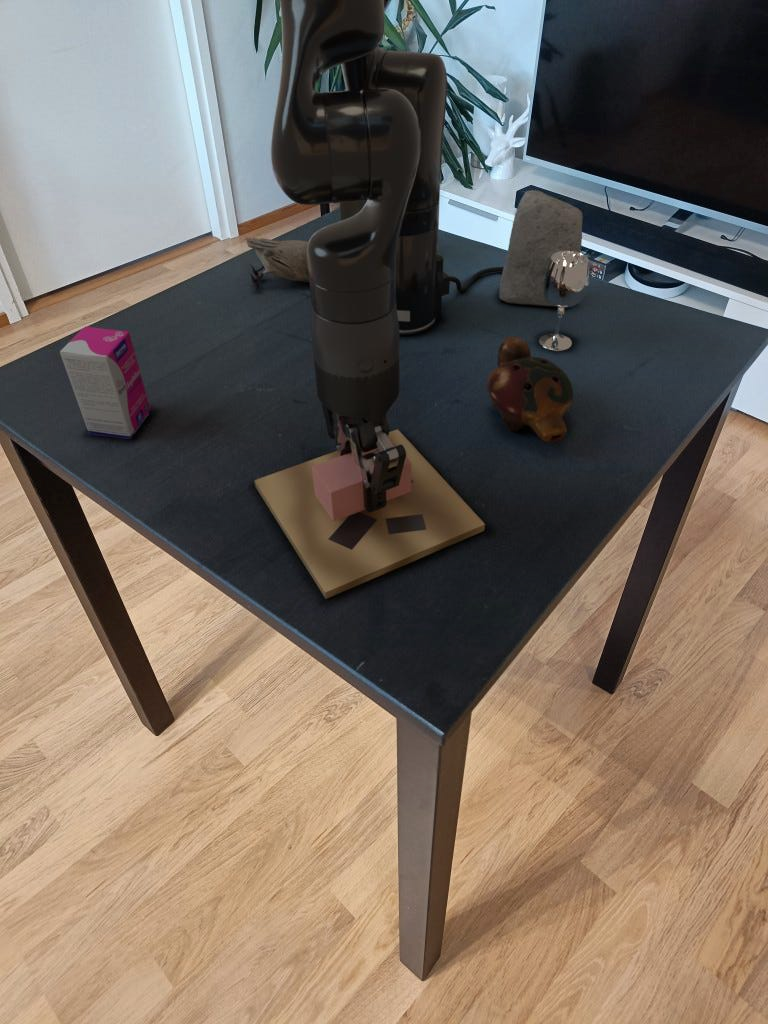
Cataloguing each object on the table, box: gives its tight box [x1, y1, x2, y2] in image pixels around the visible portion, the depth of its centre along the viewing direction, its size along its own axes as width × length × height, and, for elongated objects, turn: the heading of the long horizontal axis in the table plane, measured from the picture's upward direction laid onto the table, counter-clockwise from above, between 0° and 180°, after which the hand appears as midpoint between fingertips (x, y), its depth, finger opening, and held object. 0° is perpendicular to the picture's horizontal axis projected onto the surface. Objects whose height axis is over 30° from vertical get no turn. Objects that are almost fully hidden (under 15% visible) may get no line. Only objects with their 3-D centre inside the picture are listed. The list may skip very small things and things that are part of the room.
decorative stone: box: [498, 189, 584, 308], centre depth 101 cm, size 11×6×15 cm, turn 71°
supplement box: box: [59, 326, 152, 440], centre depth 83 cm, size 6×6×12 cm
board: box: [253, 428, 486, 600], centre depth 75 cm, size 18×18×1 cm
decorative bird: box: [244, 237, 309, 290], centre depth 109 cm, size 5×16×8 cm, turn 95°
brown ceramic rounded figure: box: [487, 336, 574, 444], centre depth 83 cm, size 10×15×8 cm, turn 21°
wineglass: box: [538, 251, 590, 352], centre depth 94 cm, size 6×6×12 cm
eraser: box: [312, 439, 411, 521], centre depth 73 cm, size 9×4×4 cm, turn 119°
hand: (363, 492), depth 74 cm, fingers closed on eraser, 4 cm apart
